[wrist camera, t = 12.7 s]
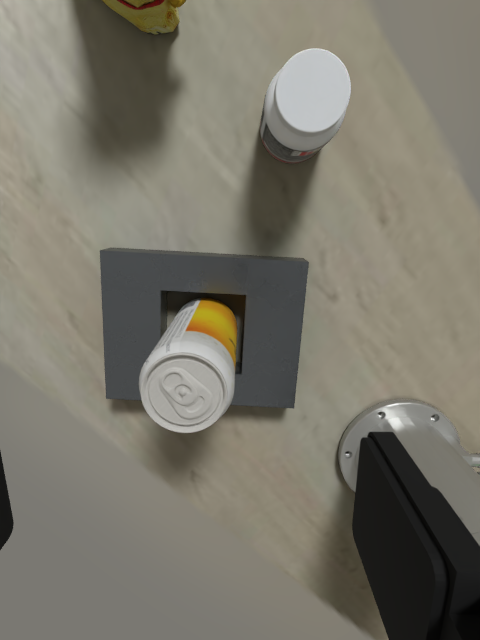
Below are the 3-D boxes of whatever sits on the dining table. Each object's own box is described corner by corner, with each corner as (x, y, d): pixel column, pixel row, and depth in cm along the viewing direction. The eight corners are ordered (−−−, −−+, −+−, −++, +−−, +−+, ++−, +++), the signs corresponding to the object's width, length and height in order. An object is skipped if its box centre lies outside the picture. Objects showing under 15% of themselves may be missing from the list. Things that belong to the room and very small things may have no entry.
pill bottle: (332, 152, 33) (369, 126, 24) (270, 173, 34) (281, 155, 24) (315, 81, 32) (347, 23, 22) (251, 105, 32) (255, 57, 23)
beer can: (203, 366, 39) (179, 456, 24) (163, 321, 37) (113, 387, 23) (249, 330, 38) (254, 401, 23) (210, 283, 36) (188, 327, 22)
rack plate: (303, 258, 36) (309, 262, 33) (290, 394, 39) (294, 409, 36) (111, 247, 36) (99, 250, 33) (116, 385, 39) (105, 399, 36)
